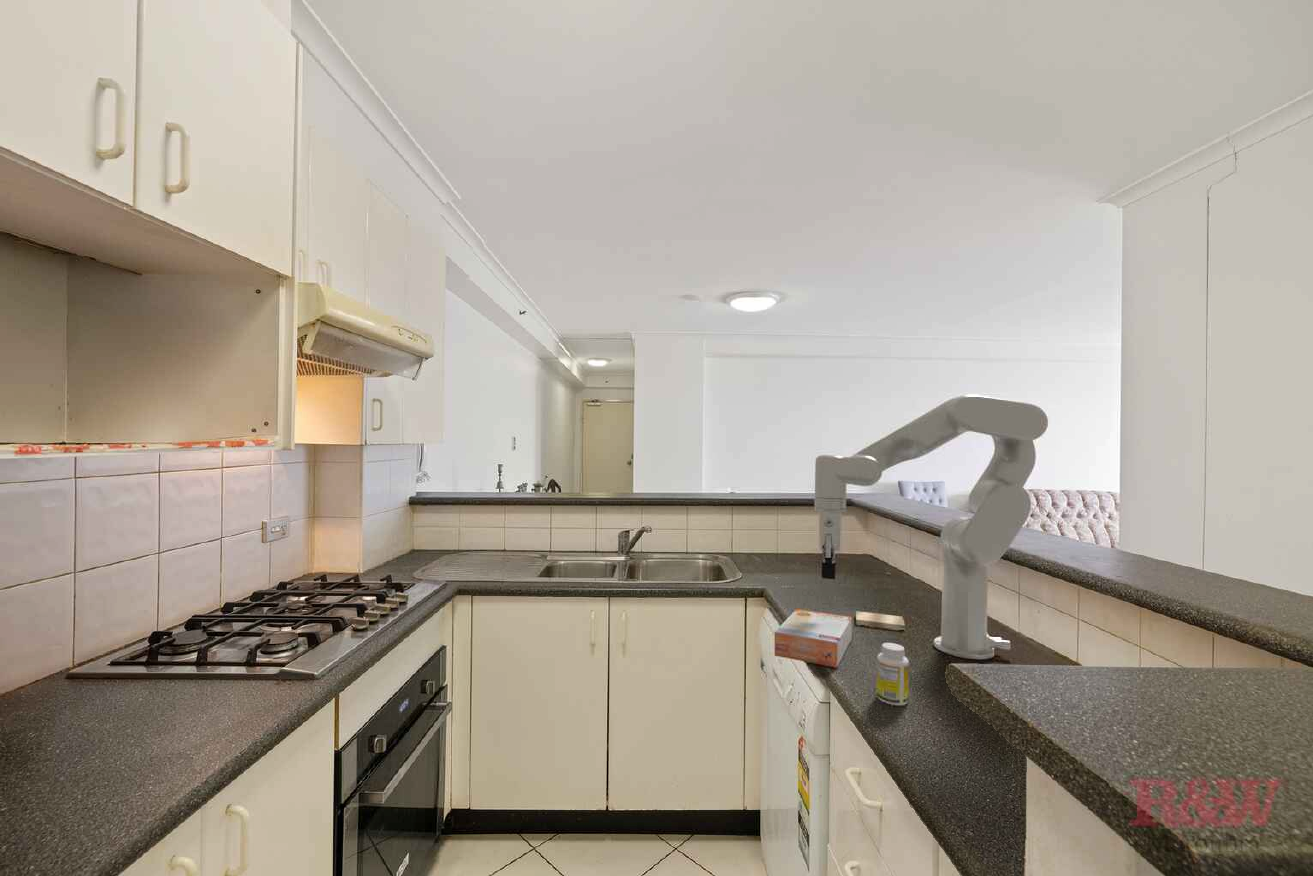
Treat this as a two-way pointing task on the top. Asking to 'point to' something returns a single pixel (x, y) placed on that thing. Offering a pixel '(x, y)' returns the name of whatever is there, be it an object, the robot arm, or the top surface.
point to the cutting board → (880, 620)
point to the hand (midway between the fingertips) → (828, 577)
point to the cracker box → (814, 637)
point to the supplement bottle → (892, 675)
